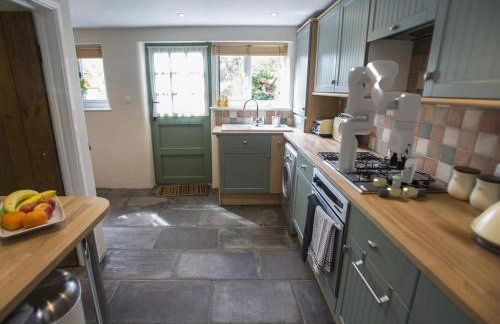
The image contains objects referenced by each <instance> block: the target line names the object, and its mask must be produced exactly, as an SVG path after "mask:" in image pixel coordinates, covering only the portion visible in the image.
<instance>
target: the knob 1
mask: <svg viewBox="0 0 500 324" xmlns="http://www.w3.org/2000/svg"><path fill="white" fill-rule="evenodd" d="M376 194H377V196H378V197H387V198H389V199H396V200H398V199H401V195H402V189H401V188H400V189H399V188H397V187H392V185H391V186H386V188H377V193H376Z"/></svg>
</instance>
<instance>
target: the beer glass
mask: <svg viewBox="0 0 500 324" xmlns="http://www.w3.org/2000/svg"><path fill="white" fill-rule="evenodd" d="M418 160H419V157H418V156H415V155H412V157H411V158H409V159H408V160H407V161H406V163H405V168H404V170H400V171H401V172H400V176H401V177H403V180H401V182H402V181H403V182H402V183H406V184H412V183H413V178H414V175H415V172H416V170H417V167H418V162H419V161H418Z"/></svg>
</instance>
